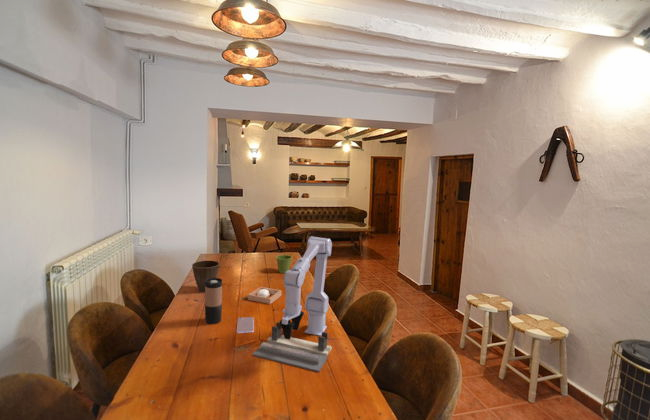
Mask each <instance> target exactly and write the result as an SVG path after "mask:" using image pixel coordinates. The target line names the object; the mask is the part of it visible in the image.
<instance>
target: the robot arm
mask: <svg viewBox="0 0 650 420" xmlns="http://www.w3.org/2000/svg"><path fill="white" fill-rule="evenodd" d="M306 246H307V248H306V250H305V252H304V254H303V255H302V256H301V257H298V258H297V260H296V261H295V263H294V265H292V267H291V269H289V270H288V271H286V273H284V275H283V281H282V282H283V284H284V285H283V286H284V290H285V305H284V306H285V307H284V309H283V310H282V313H283V317H282V319H280V320H279V323H280V325H281V327H282V333H283V335H284V338H285V339H290V338H291V337H292V332H293V331H298V330H299V327H300V324H301V321H302V318H303V316H304V315H305V312H304V311H302V308H303V305H302V304H301V295H302V294H301V293H302V292H301V290H302V289H301V288H302V286H303V284H304V281H305V278H306V273H307V272H308V270H309V269H310V267H311V261H312V260H314V257H316V260H315V269H314V270H315V271H314V274H313V276H314V277H313V286H312V291H310V292H308V293H307V295H306V299H305V302H304V308H305V310H306V313H308V315H307V316H308V317H307V318H308V320H307V328H306V329H305V330H304V333H305V334H311V335H315V336H318V337H319V336H321V337H322V332H325V331H326V329H327V328H328V326H327V325H326V317H327V316H326V315H327V312H328V310H329V307H330V305H329V296H328V295H327V294H326V293H325V291H324V289H325V280H326V272H327V262H328V257H331V254H332V247H333V243H332V240H331V238H327V237H318V236H313V235H311V236H310V237H309V238H308V239H307V245H306Z"/></svg>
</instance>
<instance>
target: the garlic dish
mask: <svg viewBox="0 0 650 420" xmlns="http://www.w3.org/2000/svg"><path fill="white" fill-rule="evenodd" d="M261 289H267V290H268V291H269V294H270V295H272V296H270V297H268V296H267V297H262V296H257V293H258V291H259V290H261ZM282 293H283V292H282V290H280V289H275V288H269V287H264V286H260V287H258V288H256V289H254V290H253V291H252V292H250V293H248V294H247V301H251V302H258V303H261V304H262V303H263V304H268V305H271V304H273V302H275V301H276V300H277V299H279V298H280V297H282Z"/></svg>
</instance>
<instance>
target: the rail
mask: <svg viewBox="0 0 650 420" xmlns="http://www.w3.org/2000/svg"><path fill="white" fill-rule="evenodd" d="M265 342H266V341H263V342H262V343H261V344H260V346H261V350H263V351H267V352H271V353H275V354H280V355H284V356H288V357H292V358H296V359H300V360H304V361H308V362H312V363H316V364H319V363H320V361H321V356H320V355H316V354H312V353H311V352H310V353H307V352H303V351H299V350H295V349H294V348H293V349H291V348H286V347H282V346H278V345H277V344H276V345H274V344H269V343H265Z"/></svg>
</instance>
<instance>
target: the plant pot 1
mask: <svg viewBox="0 0 650 420" xmlns="http://www.w3.org/2000/svg"><path fill="white" fill-rule="evenodd" d="M191 266H192V273H193V277H194V280H195V284H196V286H197V288H198V290H199V292H201V293H205V281H206V280H207V279H210V278H218V273H219V267H220V262H219V261H216V260H201V261H195V262H194V263H192V264H191Z"/></svg>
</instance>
